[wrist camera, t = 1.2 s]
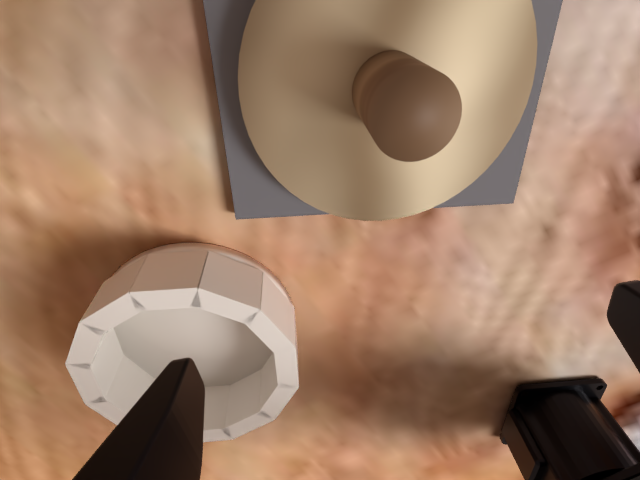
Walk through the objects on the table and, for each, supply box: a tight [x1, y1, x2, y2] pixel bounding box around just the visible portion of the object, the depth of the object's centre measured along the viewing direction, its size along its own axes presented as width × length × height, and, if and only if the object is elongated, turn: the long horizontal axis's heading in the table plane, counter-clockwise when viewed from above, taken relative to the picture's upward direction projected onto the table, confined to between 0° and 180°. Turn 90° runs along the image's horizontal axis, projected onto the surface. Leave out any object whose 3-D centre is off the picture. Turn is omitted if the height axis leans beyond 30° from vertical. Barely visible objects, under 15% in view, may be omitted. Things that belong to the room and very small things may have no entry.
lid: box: [238, 0, 537, 221], centre depth 15 cm, size 12×12×5 cm
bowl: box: [65, 243, 299, 442], centre depth 23 cm, size 11×11×4 cm
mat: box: [203, 0, 563, 219], centre depth 18 cm, size 14×12×1 cm
